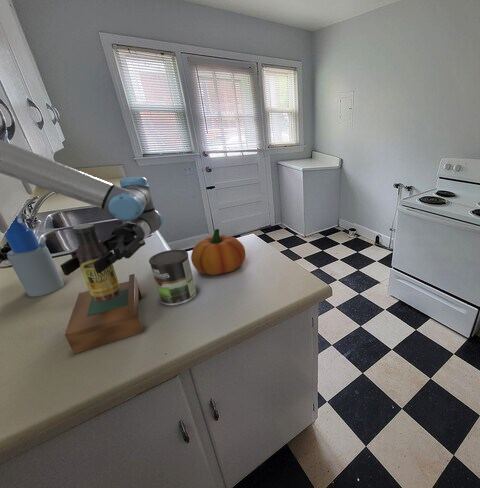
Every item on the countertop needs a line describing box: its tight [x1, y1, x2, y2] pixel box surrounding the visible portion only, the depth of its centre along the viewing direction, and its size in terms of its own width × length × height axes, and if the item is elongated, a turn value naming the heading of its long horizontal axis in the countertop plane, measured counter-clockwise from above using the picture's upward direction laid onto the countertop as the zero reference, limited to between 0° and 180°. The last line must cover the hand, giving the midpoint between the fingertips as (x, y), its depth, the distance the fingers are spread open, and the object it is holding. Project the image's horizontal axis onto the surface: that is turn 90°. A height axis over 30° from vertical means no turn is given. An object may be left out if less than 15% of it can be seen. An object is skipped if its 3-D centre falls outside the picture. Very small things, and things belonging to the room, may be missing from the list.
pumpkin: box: [190, 228, 247, 276], centre depth 101 cm, size 19×19×15 cm
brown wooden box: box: [64, 273, 144, 355], centre depth 74 cm, size 14×20×8 cm
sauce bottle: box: [72, 223, 120, 301], centre depth 69 cm, size 7×6×20 cm
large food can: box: [148, 249, 197, 307], centre depth 83 cm, size 10×10×14 cm
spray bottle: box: [3, 215, 65, 297], centre depth 85 cm, size 9×9×25 cm
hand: (80, 269), depth 64 cm, fingers closed on sauce bottle, 6 cm apart
